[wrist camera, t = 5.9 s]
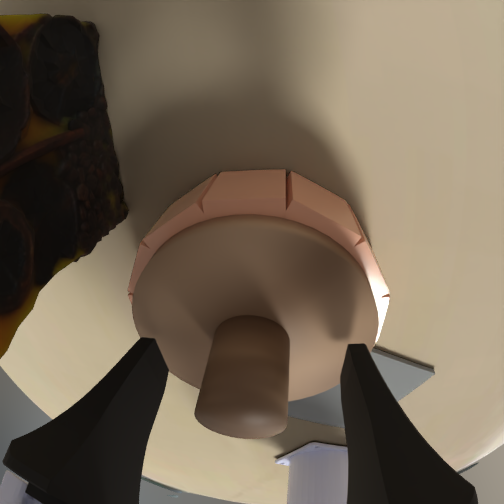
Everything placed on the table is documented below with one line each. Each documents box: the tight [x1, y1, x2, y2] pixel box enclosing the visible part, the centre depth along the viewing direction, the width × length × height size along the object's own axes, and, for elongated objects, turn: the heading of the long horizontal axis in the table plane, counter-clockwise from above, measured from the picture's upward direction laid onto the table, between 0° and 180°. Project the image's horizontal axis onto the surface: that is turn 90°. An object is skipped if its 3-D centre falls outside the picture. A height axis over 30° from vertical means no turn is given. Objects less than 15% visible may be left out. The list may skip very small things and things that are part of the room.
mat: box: [288, 348, 435, 428], centre depth 20 cm, size 10×10×1 cm
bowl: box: [128, 169, 390, 346], centre depth 14 cm, size 11×11×3 cm
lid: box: [132, 214, 379, 439], centre depth 10 cm, size 10×10×5 cm
